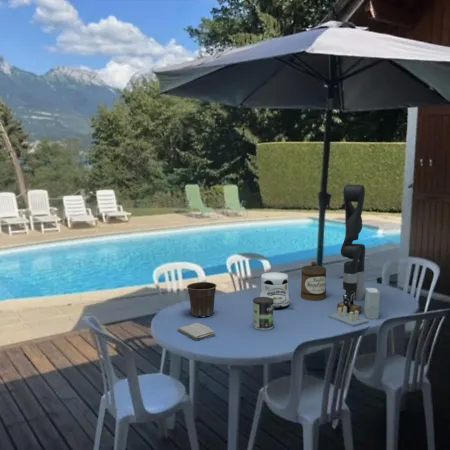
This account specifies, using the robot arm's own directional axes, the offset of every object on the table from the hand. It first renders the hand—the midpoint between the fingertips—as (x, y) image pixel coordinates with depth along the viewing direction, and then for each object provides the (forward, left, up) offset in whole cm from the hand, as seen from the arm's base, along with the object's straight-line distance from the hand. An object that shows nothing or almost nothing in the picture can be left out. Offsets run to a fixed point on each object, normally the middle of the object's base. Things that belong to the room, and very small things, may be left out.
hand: (349, 310), depth 271 cm
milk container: (-31, -28, -1) cm, 42 cm away
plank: (0, 0, -1) cm, 1 cm away
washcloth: (-17, -86, -2) cm, 88 cm away
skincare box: (+12, +4, -1) cm, 13 cm away
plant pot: (-41, -70, -1) cm, 81 cm away
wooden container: (-32, +2, -1) cm, 32 cm away
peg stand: (+9, -10, -1) cm, 13 cm away
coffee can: (-7, -53, -1) cm, 53 cm away
